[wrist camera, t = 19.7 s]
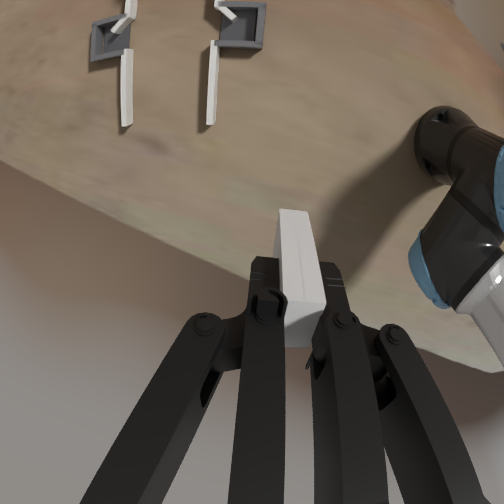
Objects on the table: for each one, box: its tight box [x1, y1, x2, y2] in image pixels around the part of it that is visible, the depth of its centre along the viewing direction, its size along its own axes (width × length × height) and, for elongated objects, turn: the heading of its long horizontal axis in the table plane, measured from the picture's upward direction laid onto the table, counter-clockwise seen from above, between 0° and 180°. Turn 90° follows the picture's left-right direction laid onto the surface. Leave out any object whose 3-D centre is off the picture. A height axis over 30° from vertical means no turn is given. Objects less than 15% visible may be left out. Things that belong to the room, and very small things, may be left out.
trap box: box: [90, 0, 266, 127], centre depth 28 cm, size 29×43×2 cm
